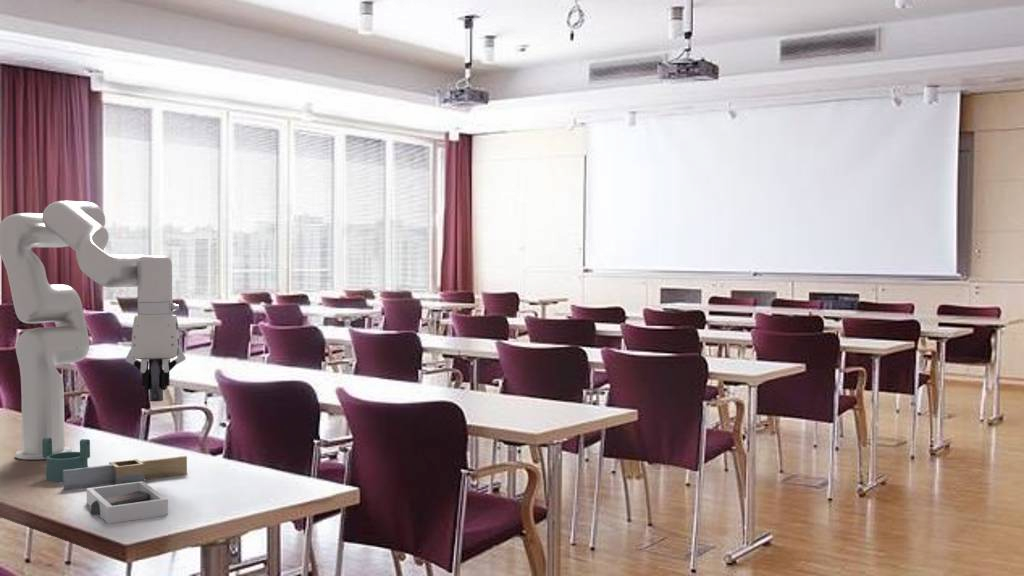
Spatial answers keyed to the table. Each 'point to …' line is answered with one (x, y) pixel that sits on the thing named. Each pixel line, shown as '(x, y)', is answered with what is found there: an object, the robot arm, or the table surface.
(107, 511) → the parts tray frame
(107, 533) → the table surface
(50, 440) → the teal round tub
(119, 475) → the hinge
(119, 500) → the usb flash stick
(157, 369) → the hinge pin
